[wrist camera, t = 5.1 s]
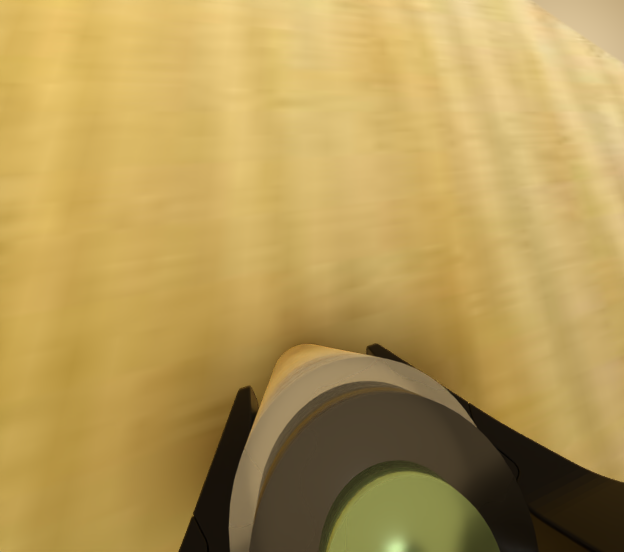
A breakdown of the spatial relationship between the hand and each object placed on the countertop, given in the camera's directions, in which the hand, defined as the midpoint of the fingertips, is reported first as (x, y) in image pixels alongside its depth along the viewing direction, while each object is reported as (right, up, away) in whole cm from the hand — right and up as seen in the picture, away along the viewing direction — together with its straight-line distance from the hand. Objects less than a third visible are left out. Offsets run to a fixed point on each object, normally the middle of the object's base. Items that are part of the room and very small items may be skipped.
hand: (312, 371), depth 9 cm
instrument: (0, -3, +6) cm, 7 cm away
